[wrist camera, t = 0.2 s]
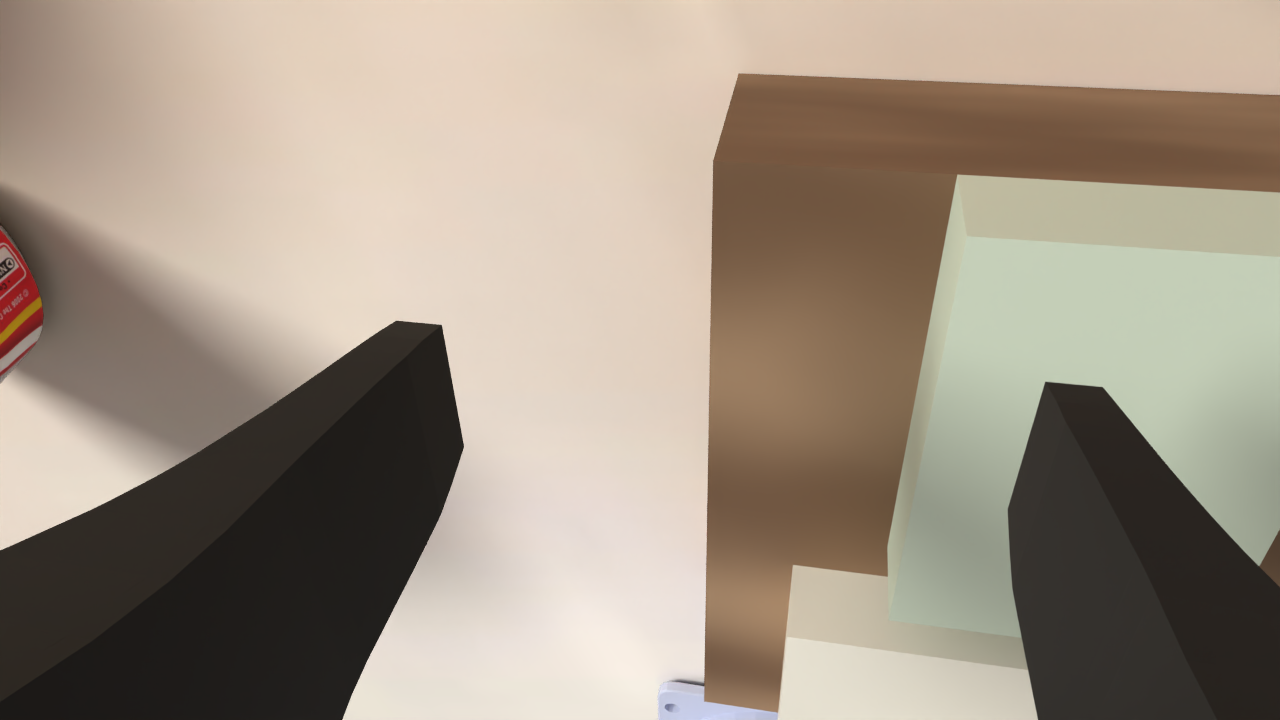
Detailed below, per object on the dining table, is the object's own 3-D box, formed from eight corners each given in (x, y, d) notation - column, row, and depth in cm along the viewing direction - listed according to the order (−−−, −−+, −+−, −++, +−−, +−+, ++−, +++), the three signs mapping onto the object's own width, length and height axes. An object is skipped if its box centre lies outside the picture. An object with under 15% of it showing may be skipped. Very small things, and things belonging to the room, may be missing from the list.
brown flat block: (1143, 641, 27) (1178, 773, 24) (722, 585, 29) (704, 701, 26) (1399, 100, 17) (1514, 205, 14) (738, 73, 19) (713, 161, 16)
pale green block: (1180, 581, 20) (1206, 662, 18) (887, 546, 21) (888, 620, 20) (1365, 197, 15) (1424, 266, 13) (957, 174, 16) (966, 236, 14)
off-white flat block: (1215, 618, 20) (1244, 699, 19) (1136, 767, 24) (1154, 845, 23) (792, 564, 22) (787, 636, 20) (778, 712, 26) (771, 783, 24)
